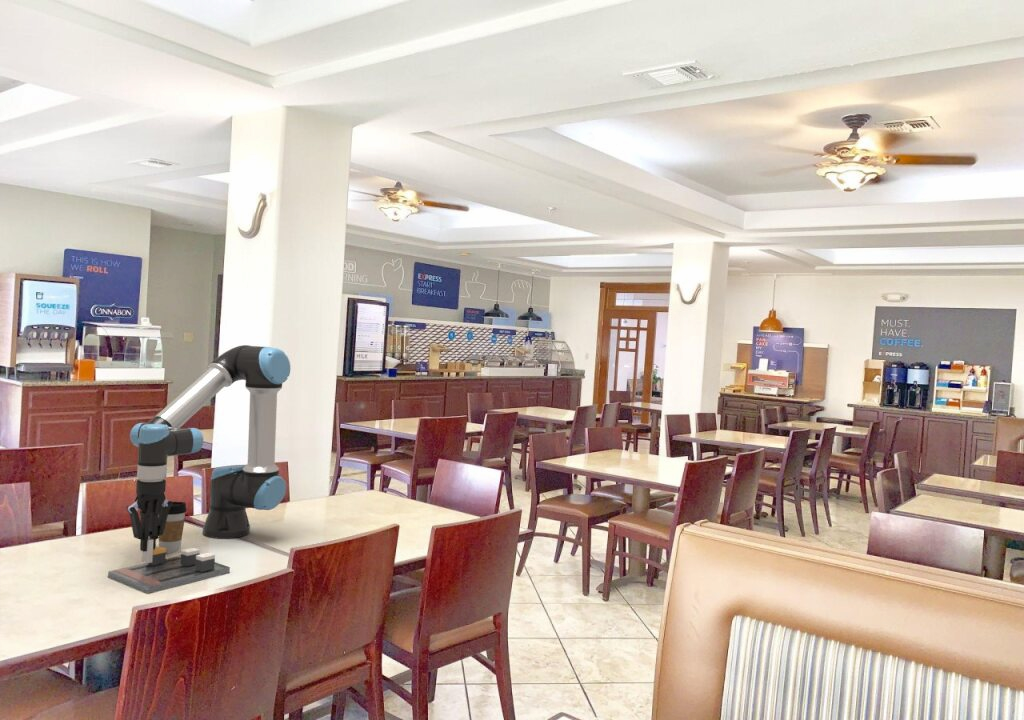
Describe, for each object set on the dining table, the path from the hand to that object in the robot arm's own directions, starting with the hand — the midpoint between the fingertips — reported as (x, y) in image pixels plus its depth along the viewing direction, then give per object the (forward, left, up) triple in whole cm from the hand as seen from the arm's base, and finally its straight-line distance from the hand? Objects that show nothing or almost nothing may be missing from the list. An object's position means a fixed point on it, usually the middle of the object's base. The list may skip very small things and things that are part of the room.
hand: (147, 561), depth 217 cm
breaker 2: (-9, +14, -1) cm, 17 cm away
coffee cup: (-16, -13, -3) cm, 21 cm away
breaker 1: (-9, +7, -1) cm, 11 cm away
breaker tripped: (-3, 0, -1) cm, 3 cm away
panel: (-3, +7, -3) cm, 8 cm away
